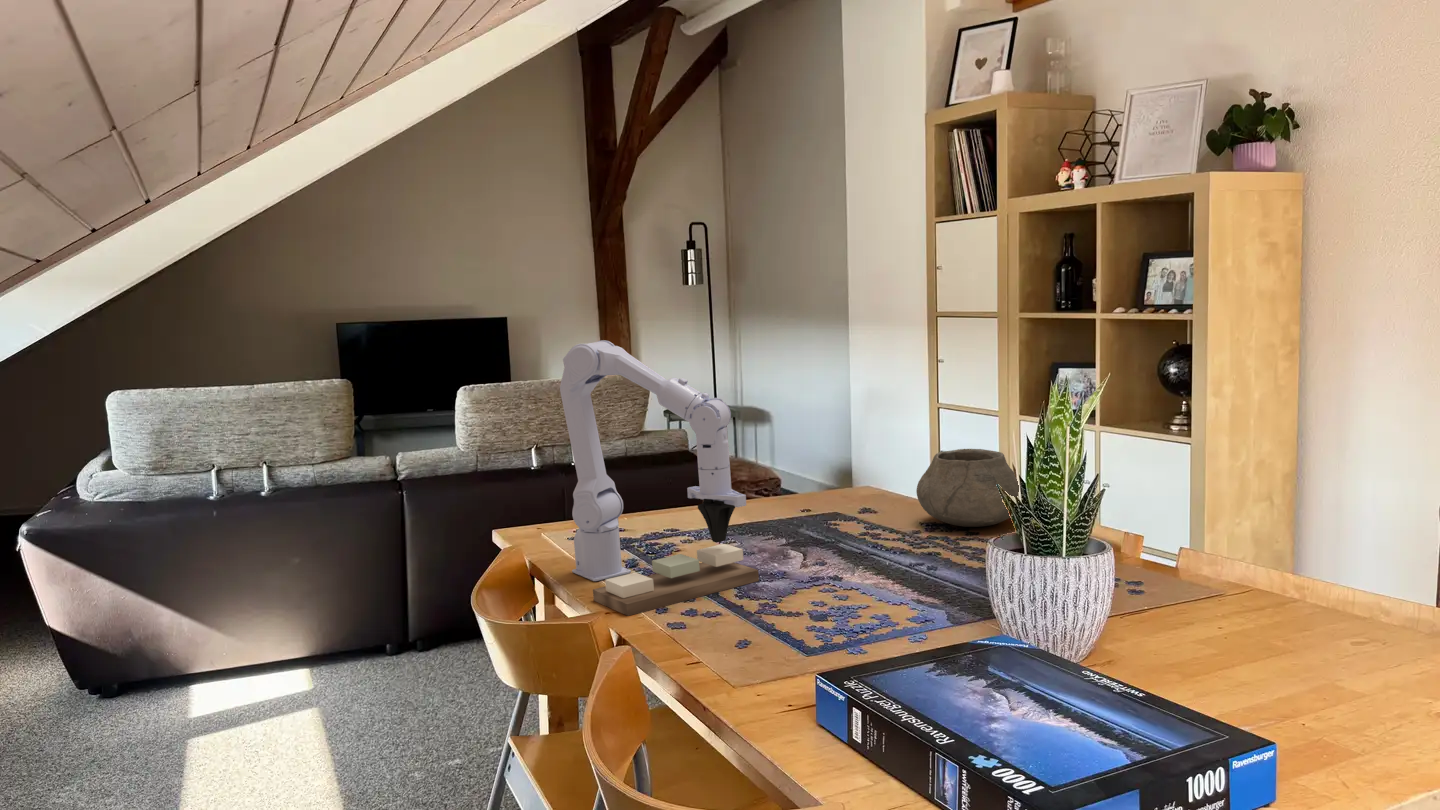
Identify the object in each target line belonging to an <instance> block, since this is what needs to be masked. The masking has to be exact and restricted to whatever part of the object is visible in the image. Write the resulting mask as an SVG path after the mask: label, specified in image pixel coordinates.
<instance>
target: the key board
mask: <svg viewBox="0 0 1440 810" xmlns="http://www.w3.org/2000/svg"><path fill="white" fill-rule="evenodd" d="M699 568H700V571H698V572H694V573H690V574H686V575H682V576H678V577H674V578H669V577H666V576H663V575H661V574H658V573H653V574H650V575H645V576H646V577H649V578H652V579H653V584H654V591H650V592H646V593H642V594H638V595H634V596H630V597H626V598H621V597H619V596H617V595H614V594H612V593H610V592H607V591H606V585H605V586H601V587H598V588H593V589H592V596H593V601H594V602H595V603H598V604H600V605H603V606H605V607H607V608H609V609H612V610H613V611H616V612H618V613H621V614H623V615H625V616H628V617H629V616H632V615H637V614H641V613H644V612H647V611H648V612H649V611H651V610H655V609H660V608H662V607H667V606H670V605H674V604H678V603H682V602H686V601H689V600H692V599H696V598H700V597H704V596H708V595H712V594H716V593H719V592H723V591H727V590H730V589H734V588H738V587H741V586H745V585H749V584H752V583H755V582H760V577H759V576H760V575H759V573H760V572H759V569H757V568H753V567H750V566H746V565H745V564H740V563H738V562H733V563H729V564H725V565H721V566H717V567H715V566H712V565H709V564H706V563H703V562H699Z"/></svg>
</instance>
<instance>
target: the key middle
mask: <svg viewBox="0 0 1440 810" xmlns="http://www.w3.org/2000/svg"><path fill="white" fill-rule="evenodd" d="M699 563H700V561H699V560H698V559H697V558H694V557H692V556H688V555H686V554H682V553H679V554H675V555H670V556H665V557H662V558H657V559H654V560H651V567H652V572H653V573H654V574H661V575H663V576H666V577H669V578H674V577H678V576H682V575H686V574H690V573H694V572H698V571H700V568H699Z"/></svg>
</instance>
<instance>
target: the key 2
mask: <svg viewBox="0 0 1440 810" xmlns="http://www.w3.org/2000/svg"><path fill="white" fill-rule="evenodd" d="M696 557H697V558H696V559H698V560H699V563H702V562H703V563H706V564H709V565H712V566H715V567H717V566H721V565H725V564H729V563H733V562H734V563H738V562H740V561H744V550H743V548H739V547H737V546H733V545H729V544H726V543H721V544H717V545H712V546H708V547H703V548H700V549H696Z"/></svg>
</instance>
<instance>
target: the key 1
mask: <svg viewBox="0 0 1440 810" xmlns="http://www.w3.org/2000/svg"><path fill="white" fill-rule="evenodd" d="M646 576H647V575H643V574H641V573H639V572H631V573H628V574H623V575H619V576H615V577H611V578H607V579H604V580H605V583H604V584H605V586H606V591H607V592H610V593H612V594H614V595H617V596H619V597H621V598H626V597H630V596H634V595H638V594H642V593H646V592H650V591H654V584H653V579H652V578H649V577H646Z"/></svg>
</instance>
